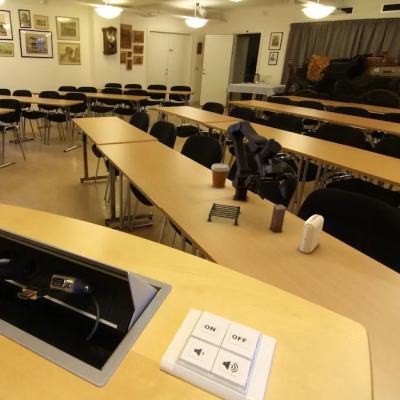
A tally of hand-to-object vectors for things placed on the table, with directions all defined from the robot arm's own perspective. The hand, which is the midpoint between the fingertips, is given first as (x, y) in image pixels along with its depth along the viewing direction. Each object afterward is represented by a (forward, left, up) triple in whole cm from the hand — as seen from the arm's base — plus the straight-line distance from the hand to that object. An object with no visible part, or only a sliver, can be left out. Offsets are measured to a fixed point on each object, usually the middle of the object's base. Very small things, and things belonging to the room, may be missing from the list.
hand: (274, 198), depth 130 cm
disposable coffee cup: (-40, -27, -12) cm, 50 cm away
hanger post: (+4, +2, -12) cm, 13 cm away
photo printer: (+14, +13, -12) cm, 23 cm away
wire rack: (-2, -19, -12) cm, 22 cm away
